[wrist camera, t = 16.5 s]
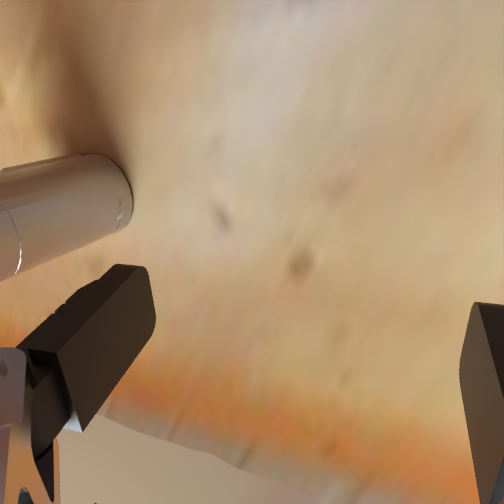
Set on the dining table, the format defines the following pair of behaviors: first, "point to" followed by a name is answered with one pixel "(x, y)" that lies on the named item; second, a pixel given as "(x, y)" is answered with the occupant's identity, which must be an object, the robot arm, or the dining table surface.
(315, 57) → the dining table surface
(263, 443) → the dining table surface
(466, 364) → the robot arm
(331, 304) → the dining table surface
